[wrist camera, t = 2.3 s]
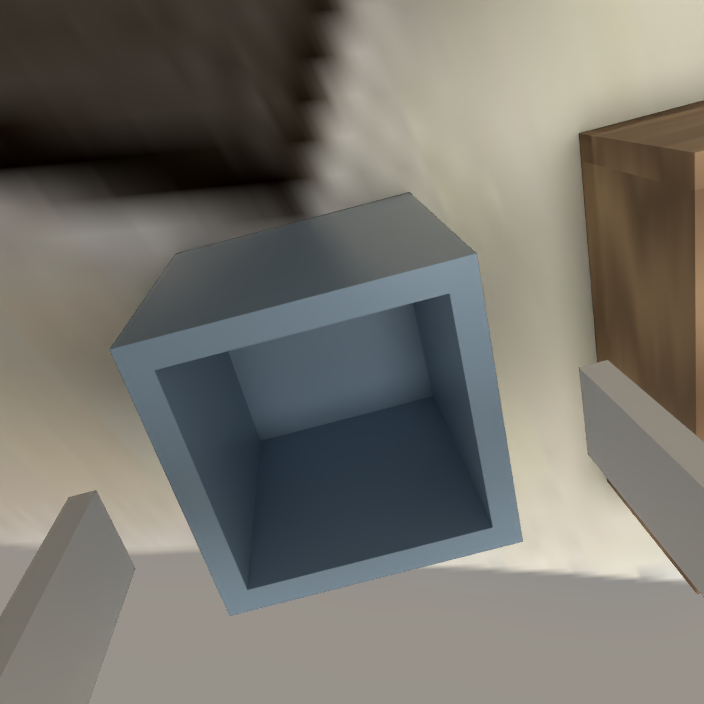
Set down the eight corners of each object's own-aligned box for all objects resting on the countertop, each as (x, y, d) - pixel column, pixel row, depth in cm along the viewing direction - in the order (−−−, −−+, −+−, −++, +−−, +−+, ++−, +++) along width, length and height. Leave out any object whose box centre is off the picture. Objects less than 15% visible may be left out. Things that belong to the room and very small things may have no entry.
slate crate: (175, 254, 23) (109, 349, 14) (409, 192, 23) (476, 253, 14) (249, 451, 26) (229, 615, 18) (450, 398, 26) (522, 541, 18)
